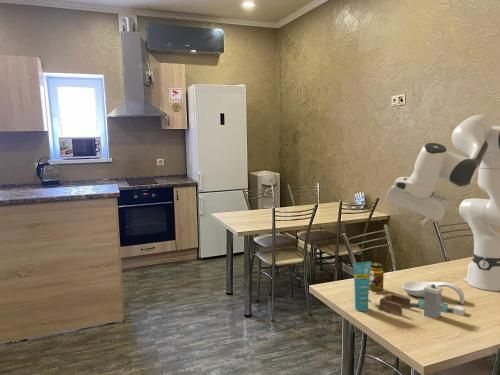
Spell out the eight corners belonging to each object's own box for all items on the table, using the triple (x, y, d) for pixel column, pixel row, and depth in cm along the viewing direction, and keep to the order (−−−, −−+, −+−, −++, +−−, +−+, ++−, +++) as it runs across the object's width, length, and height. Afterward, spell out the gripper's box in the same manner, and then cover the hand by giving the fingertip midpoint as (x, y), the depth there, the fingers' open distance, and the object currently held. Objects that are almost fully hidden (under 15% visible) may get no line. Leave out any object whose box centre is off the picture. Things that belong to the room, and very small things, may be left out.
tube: (355, 312, 146) (356, 264, 144) (349, 307, 151) (350, 260, 148) (373, 310, 148) (373, 262, 145) (366, 305, 152) (367, 259, 150)
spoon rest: (399, 296, 161) (399, 280, 160) (405, 287, 171) (405, 272, 170) (463, 308, 148) (463, 290, 147) (465, 297, 158) (465, 281, 157)
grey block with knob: (428, 311, 145) (429, 281, 144) (441, 315, 142) (442, 284, 141) (423, 315, 142) (424, 285, 141) (436, 319, 139) (437, 288, 137)
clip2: (423, 304, 151) (423, 299, 151) (425, 308, 148) (425, 303, 148) (417, 304, 152) (417, 299, 152) (419, 308, 148) (419, 303, 148)
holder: (390, 302, 154) (390, 293, 154) (410, 308, 148) (410, 298, 148) (379, 309, 148) (380, 299, 148) (400, 315, 142) (400, 305, 142)
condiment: (375, 294, 163) (375, 267, 162) (362, 287, 171) (362, 262, 169) (388, 291, 166) (388, 265, 164) (374, 284, 174) (375, 259, 172)
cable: (402, 302, 154) (402, 297, 154) (464, 311, 144) (465, 306, 144) (401, 306, 151) (401, 301, 150) (465, 316, 141) (465, 311, 141)
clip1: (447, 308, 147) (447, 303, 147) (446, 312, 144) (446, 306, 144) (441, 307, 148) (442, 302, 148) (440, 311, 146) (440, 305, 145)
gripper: (452, 195, 132) (439, 228, 138) (395, 175, 142) (385, 206, 149) (449, 201, 127) (435, 235, 134) (390, 180, 137) (379, 212, 144)
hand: (408, 220), depth 141 cm, fingers open, 8 cm apart
